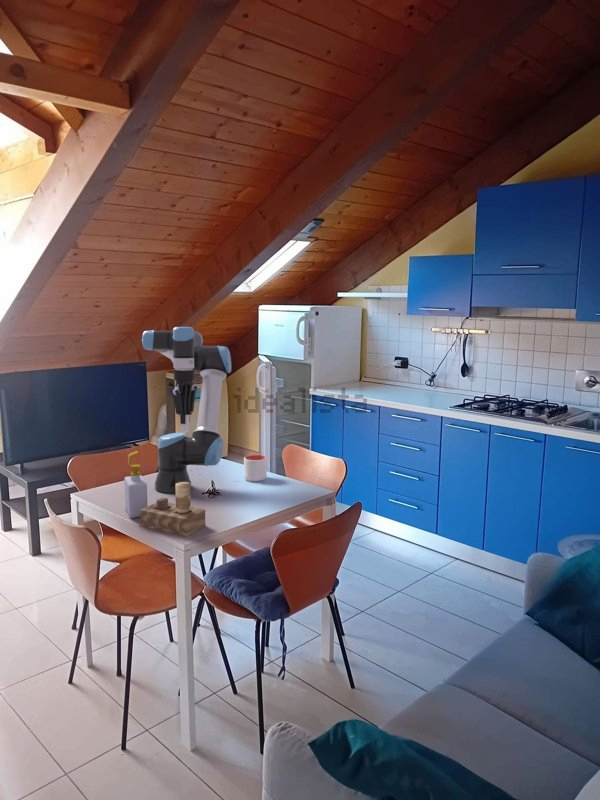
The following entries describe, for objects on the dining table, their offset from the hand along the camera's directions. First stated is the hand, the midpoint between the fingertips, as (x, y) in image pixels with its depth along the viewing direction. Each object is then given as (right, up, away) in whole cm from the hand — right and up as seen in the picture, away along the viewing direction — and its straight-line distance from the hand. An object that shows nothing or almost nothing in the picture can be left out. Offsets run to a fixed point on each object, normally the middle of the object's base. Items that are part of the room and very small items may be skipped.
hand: (185, 431), depth 231 cm
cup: (+23, -24, +46) cm, 57 cm away
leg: (+2, -32, -14) cm, 35 cm away
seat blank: (-2, -33, -12) cm, 35 cm away
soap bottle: (-19, -31, +2) cm, 36 cm away
